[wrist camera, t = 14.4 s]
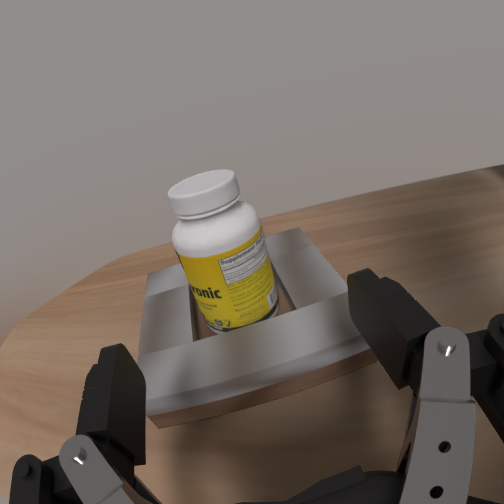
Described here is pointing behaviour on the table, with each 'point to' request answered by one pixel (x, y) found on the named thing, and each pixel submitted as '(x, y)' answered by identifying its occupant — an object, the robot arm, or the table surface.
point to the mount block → (247, 340)
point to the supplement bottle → (223, 251)
